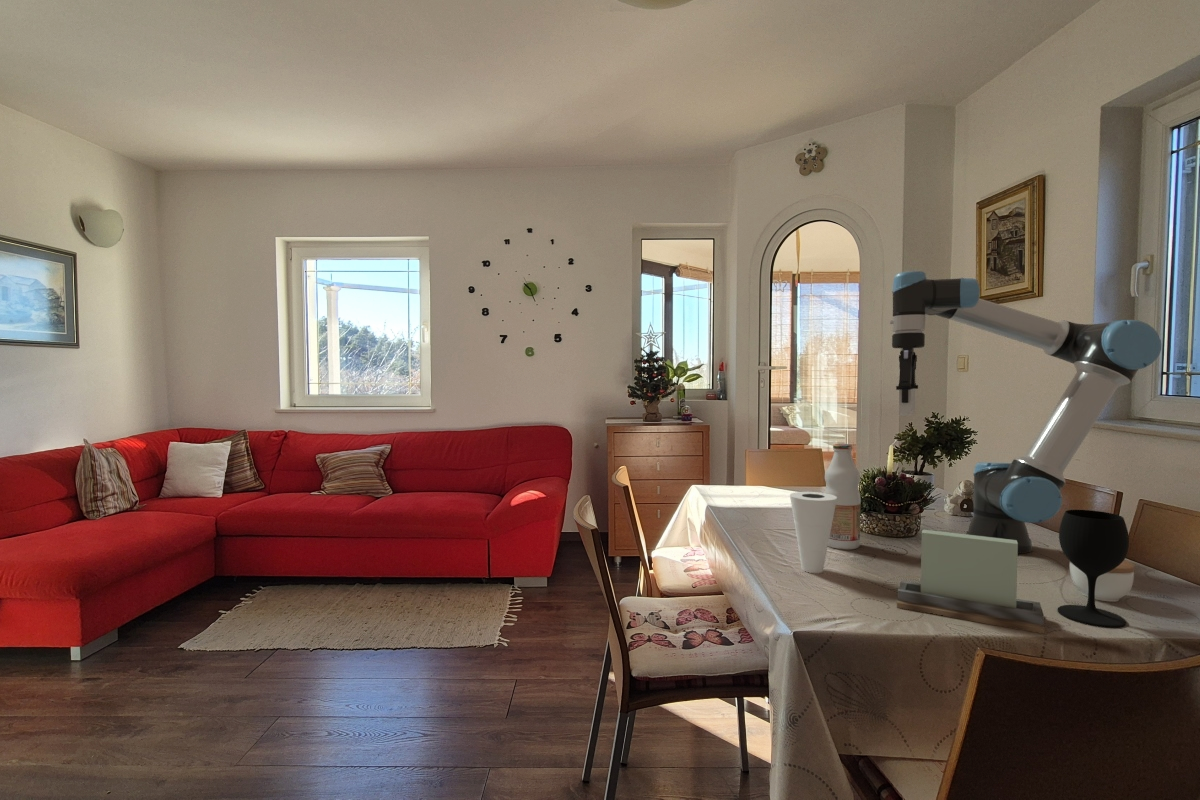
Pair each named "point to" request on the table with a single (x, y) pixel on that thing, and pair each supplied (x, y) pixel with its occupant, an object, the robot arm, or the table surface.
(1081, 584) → the lidded jar
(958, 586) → the door panel
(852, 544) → the fruit juice
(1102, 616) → the wine glass
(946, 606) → the door track
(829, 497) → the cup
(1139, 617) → the table surface
